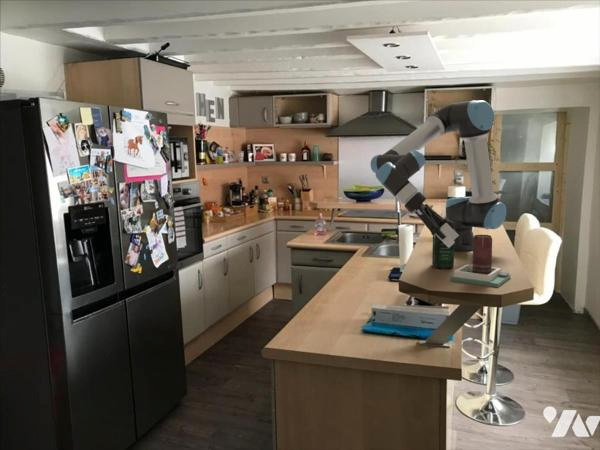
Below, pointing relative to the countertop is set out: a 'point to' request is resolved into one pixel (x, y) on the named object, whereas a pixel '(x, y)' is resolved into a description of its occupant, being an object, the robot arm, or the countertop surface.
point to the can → (482, 254)
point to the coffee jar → (443, 251)
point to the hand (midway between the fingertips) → (454, 241)
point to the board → (480, 276)
